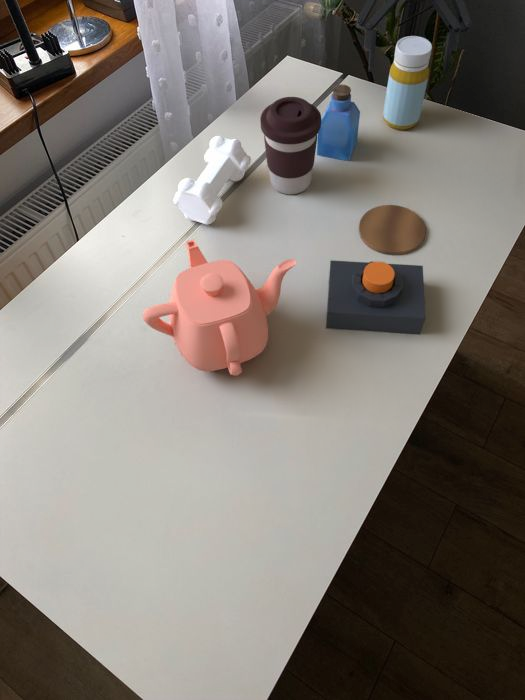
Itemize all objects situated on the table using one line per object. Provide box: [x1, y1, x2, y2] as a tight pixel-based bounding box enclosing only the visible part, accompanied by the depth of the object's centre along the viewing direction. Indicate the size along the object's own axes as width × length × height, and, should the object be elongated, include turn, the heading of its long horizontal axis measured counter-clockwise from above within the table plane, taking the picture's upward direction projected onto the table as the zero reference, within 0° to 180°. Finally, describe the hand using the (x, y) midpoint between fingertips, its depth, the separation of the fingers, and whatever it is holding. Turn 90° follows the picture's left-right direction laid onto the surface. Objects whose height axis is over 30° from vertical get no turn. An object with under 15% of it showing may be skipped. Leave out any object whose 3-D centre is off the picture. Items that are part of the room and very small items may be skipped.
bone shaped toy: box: [173, 135, 252, 225], centre depth 104 cm, size 15×9×8 cm, turn 156°
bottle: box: [382, 35, 433, 131], centre depth 111 cm, size 7×7×15 cm
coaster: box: [358, 204, 427, 256], centre depth 101 cm, size 11×11×1 cm
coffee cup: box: [259, 96, 322, 195], centre depth 103 cm, size 10×10×15 cm
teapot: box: [142, 239, 297, 376], centre depth 85 cm, size 16×17×14 cm
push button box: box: [325, 259, 426, 336], centre depth 90 cm, size 14×10×6 cm
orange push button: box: [362, 261, 395, 294], centre depth 87 cm, size 4×4×2 cm
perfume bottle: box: [316, 84, 361, 162], centre depth 109 cm, size 6×6×12 cm
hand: (408, 71), depth 110 cm, fingers open, 13 cm apart
